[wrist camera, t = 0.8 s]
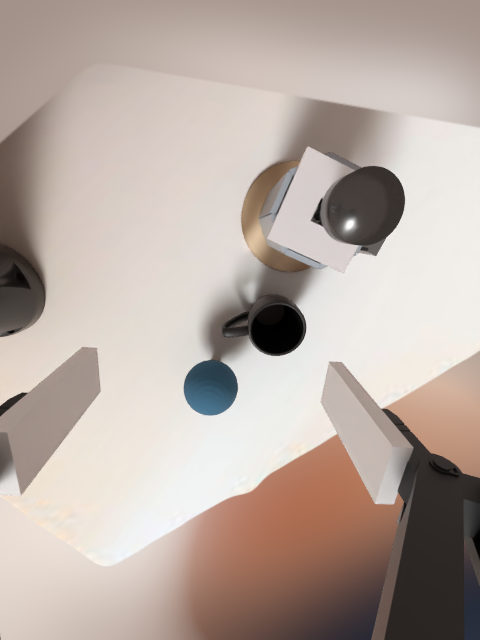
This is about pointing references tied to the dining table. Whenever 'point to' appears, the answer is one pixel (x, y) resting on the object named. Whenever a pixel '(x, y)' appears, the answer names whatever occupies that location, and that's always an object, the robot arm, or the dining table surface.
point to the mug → (270, 325)
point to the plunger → (361, 206)
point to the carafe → (308, 213)
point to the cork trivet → (252, 225)
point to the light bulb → (210, 387)
